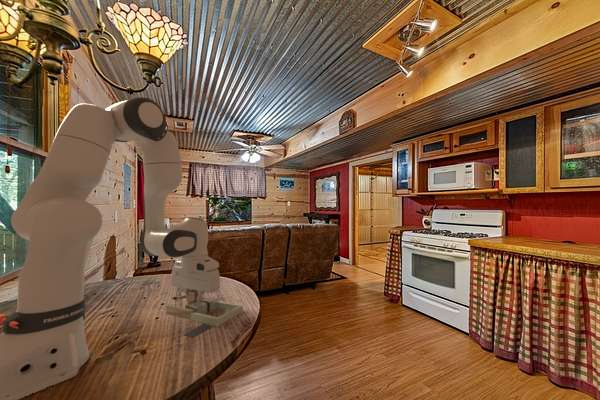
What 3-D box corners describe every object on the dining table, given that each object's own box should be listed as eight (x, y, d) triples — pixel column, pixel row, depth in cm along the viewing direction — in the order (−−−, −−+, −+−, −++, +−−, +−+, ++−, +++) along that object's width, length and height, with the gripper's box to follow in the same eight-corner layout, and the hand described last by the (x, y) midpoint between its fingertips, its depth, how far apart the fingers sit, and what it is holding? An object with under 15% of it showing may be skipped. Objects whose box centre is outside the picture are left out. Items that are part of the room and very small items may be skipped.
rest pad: (193, 339, 72) (193, 337, 72) (182, 336, 73) (182, 334, 73) (213, 327, 79) (213, 326, 79) (203, 324, 81) (203, 323, 81)
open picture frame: (217, 327, 79) (218, 319, 79) (190, 320, 84) (191, 313, 84) (242, 312, 91) (243, 305, 91) (218, 307, 95) (218, 300, 95)
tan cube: (197, 319, 85) (197, 307, 85) (189, 316, 87) (189, 304, 87) (206, 315, 88) (207, 303, 88) (198, 312, 90) (199, 301, 90)
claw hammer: (179, 305, 100) (179, 302, 100) (171, 300, 104) (171, 297, 104) (225, 291, 116) (225, 288, 116) (216, 287, 121) (217, 284, 121)
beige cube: (209, 313, 90) (209, 301, 90) (200, 311, 91) (201, 300, 91) (217, 309, 93) (217, 298, 93) (208, 307, 95) (208, 296, 95)
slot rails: (191, 320, 84) (191, 311, 84) (165, 314, 89) (165, 305, 89) (217, 307, 95) (217, 299, 95) (193, 302, 100) (193, 294, 100)
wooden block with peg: (189, 312, 88) (189, 293, 89) (183, 311, 89) (183, 292, 90) (204, 305, 95) (204, 288, 95) (198, 304, 96) (198, 287, 96)
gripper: (166, 261, 94) (165, 300, 93) (210, 266, 86) (209, 308, 85) (180, 258, 99) (179, 294, 99) (222, 263, 91) (222, 302, 91)
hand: (193, 301), depth 92 cm, fingers closed on wooden block with peg, 3 cm apart
